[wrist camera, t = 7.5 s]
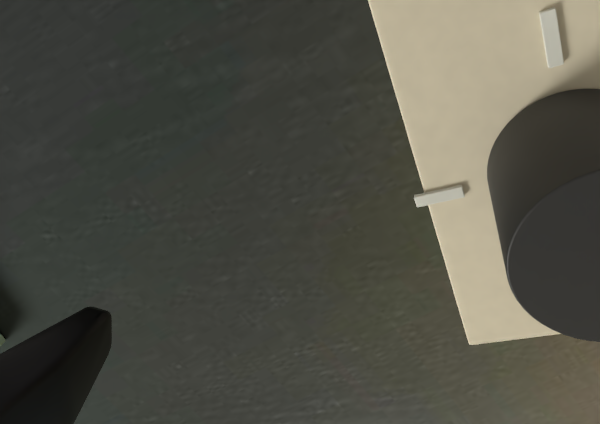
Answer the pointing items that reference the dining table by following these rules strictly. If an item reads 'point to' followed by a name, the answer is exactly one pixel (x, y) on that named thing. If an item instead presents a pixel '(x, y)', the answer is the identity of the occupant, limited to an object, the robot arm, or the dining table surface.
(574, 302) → the timer knob
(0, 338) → the housing
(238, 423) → the dining table surface
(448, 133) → the timer panel
